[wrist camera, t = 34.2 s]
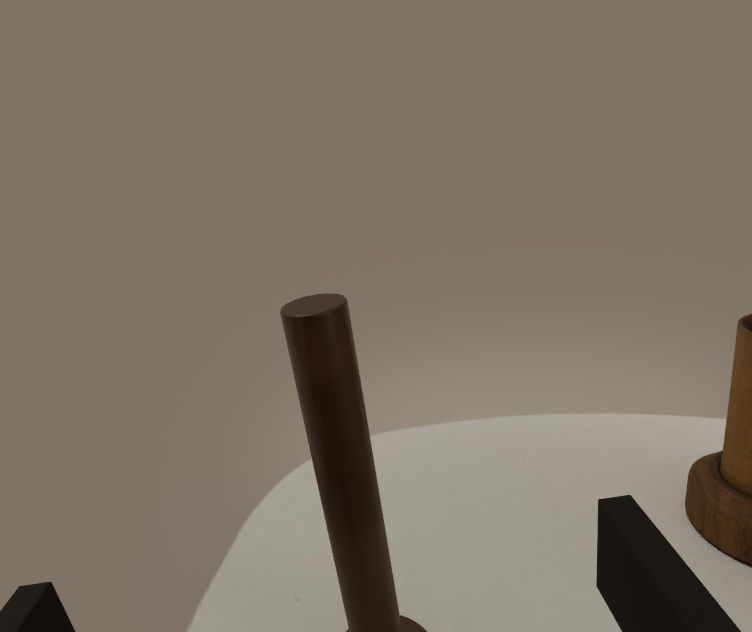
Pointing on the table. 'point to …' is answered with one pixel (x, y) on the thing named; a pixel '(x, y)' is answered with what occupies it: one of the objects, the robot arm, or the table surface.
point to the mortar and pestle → (728, 466)
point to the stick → (343, 459)
